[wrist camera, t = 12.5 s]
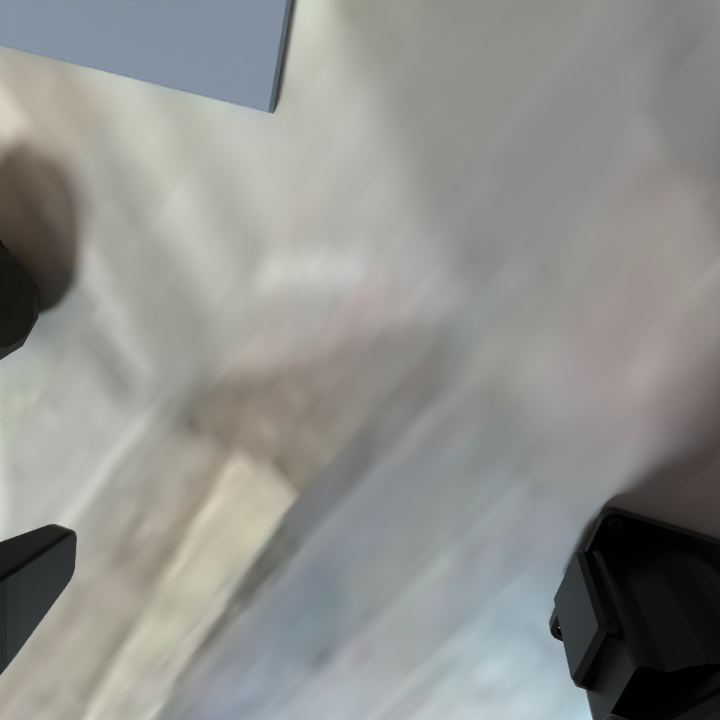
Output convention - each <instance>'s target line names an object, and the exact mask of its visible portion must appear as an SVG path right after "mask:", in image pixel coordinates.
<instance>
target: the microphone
mask: <svg viewBox="0 0 720 720" xmlns="http://www.w3.org/2000/svg"><path fill="white" fill-rule="evenodd" d="M37 319H38V287H37V285H36V284H35V282H34V281H33V280H32V278H31V277H30V276H29V274H28V273H27V272H26V270H25V269H24V267H23V266H22V265H21V263H20V262H18V261H17V260H16V259H15V258H14V257H13V256H12V255H11V254H10V252H9V251H8V250H7V248H6V247H5V246H4V244H3V243H2V242H1V240H0V360H1V359H3V358H4V357H6V356H7V355H9V354H10V353H12V352H14V351H15V350H17V349H18V348H20V347H22V346H23V344H24V342H25V341H26V339H27V337H28V335H29V333H30V332H31V330H32V328H33V326H34V324H35V323H36V321H37Z"/></svg>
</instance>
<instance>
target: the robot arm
mask: <svg viewBox="0 0 720 720" xmlns="http://www.w3.org/2000/svg"><path fill="white" fill-rule="evenodd" d="M612 519H618V520H619V521H618V522H617V523H616V524H608V522H609V521H610V520H612ZM76 543H77V535H76V533H75V531H73V530H71V529H68V528H65V527H62V526H59V525H56V524H50V525H47V526H44V527H41V528H38V529H35V530H32V531H30V532H27V533H24V534H21V535H18V536H16V537H13V538H10V539H7V540H4V541H2V542H0V675H1V674H2V673H3V671H4V670H5V669H6V668H7V667H8V665H9V664H10V663H11V661H12V660H13V659H14V657H15V656H16V655H17V653H18V652H19V651H20V649H21V648H22V647H23V645H24V644H25V642H26V641H27V640H28V638H29V637H30V636H31V634H32V633H33V631H34V630H35V629H36V627H37V626H38V625H39V623H40V622H41V620H42V619H43V618H44V616H45V615H46V614H47V612H48V611H49V609H50V608H51V607H52V605H53V604H54V603H55V601H56V600H57V598H58V597H59V596H60V594H61V593H62V591H63V590H64V589H65V587H66V586H67V585H68V583H69V582H70V580H71V578H72V576H73V573H74V569H75V558H76ZM554 602H555V606H556V608H555V610H554V612H553V614H552V616H551V618H550V621H549V626H550V631H551V634H552V636H553V637H554V638H556V639H558V640H560V641H563V643H564V647H565V652H566V657H567V661H568V666H569V670H570V675H571V678H572V680H573V682H574V684H575V685H576V686H577V687H580V688H583V689H586V693H587V698H588V702H589V706H590V710H591V714H592V718H593V720H720V540H719V539H716V538H713V537H710V536H706V535H703V534H700V533H697V532H693V531H690V530H687V529H683V528H680V527H677V526H674V525H670V524H667V523H664V522H660V521H657V520H654V519H651V518H647V517H644V516H641V515H638V514H634V513H631V512H628V511H624V510H621V509H618V508H607V509H605V510H603V511H602V512H601V513H600V515H599V517H598V519H597V521H596V523H595V525H594V527H593V529H592V531H591V534H590V536H589V538H588V540H587V542H586V544H585V546H584V548H583V550H580V551H578V552H577V553H575V555H574V557H573V559H572V561H571V563H570V565H569V568H568V570H567V572H566V574H565V576H564V578H563V580H562V583H561V585H560V587H559V589H558V591H557V593H556V595H555V598H554ZM558 627H560V628H558Z"/></svg>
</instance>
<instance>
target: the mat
mask: <svg viewBox="0 0 720 720" xmlns="http://www.w3.org/2000/svg"><path fill="white" fill-rule="evenodd" d="M291 4H292V0H0V45H1V46H5V47H9V48H13V49H17V50H21V51H25V52H29V53H33V54H37V55H41V56H45V57H49V58H53V59H57V60H61V61H65V62H69V63H73V64H77V65H81V66H85V67H89V68H93V69H97V70H101V71H105V72H109V73H113V74H117V75H121V76H125V77H129V78H133V79H137V80H141V81H145V82H149V83H153V84H157V85H161V86H165V87H169V88H173V89H177V90H181V91H185V92H189V93H193V94H197V95H201V96H205V97H209V98H213V99H217V100H221V101H225V102H229V103H233V104H237V105H241V106H245V107H249V108H253V109H257V110H261V111H265V112H269V113H273V112H274V106H275V100H276V94H277V88H278V82H279V76H280V70H281V64H282V58H283V52H284V46H285V40H286V34H287V28H288V22H289V16H290V10H291Z"/></svg>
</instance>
